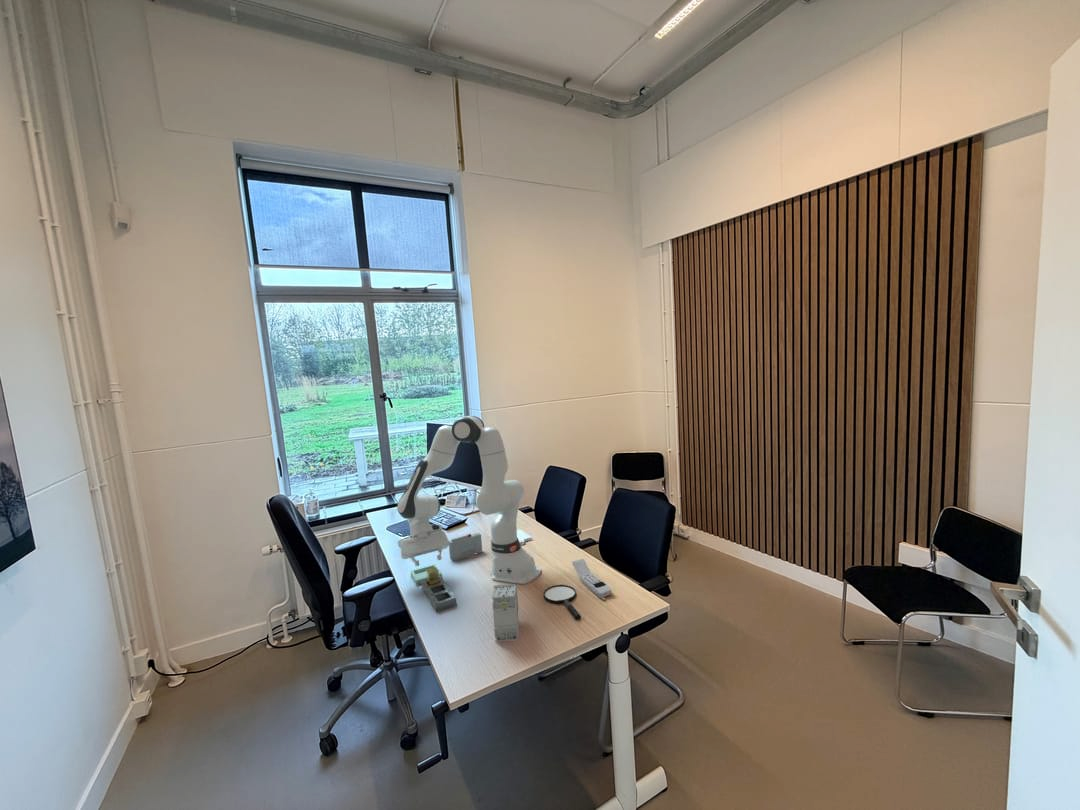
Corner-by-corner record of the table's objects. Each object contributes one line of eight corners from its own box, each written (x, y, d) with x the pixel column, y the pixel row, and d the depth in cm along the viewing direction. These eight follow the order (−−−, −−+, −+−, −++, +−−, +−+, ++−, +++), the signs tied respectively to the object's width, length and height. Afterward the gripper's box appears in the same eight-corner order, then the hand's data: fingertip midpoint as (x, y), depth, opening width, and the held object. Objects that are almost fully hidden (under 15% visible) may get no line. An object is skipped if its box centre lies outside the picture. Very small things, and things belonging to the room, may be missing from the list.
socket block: (456, 605, 164) (456, 597, 164) (435, 612, 160) (435, 604, 160) (440, 581, 183) (440, 575, 183) (422, 587, 180) (421, 580, 179)
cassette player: (480, 550, 214) (478, 530, 213) (482, 551, 211) (480, 532, 210) (450, 559, 205) (448, 539, 205) (452, 561, 203) (450, 540, 202)
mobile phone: (582, 558, 184) (615, 583, 161) (584, 571, 185) (616, 598, 162) (570, 561, 182) (601, 587, 159) (571, 575, 183) (602, 602, 160)
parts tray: (442, 577, 187) (441, 573, 187) (416, 585, 182) (416, 580, 182) (435, 568, 197) (435, 563, 197) (411, 574, 192) (410, 570, 192)
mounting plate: (497, 537, 229) (496, 533, 229) (518, 531, 235) (518, 528, 235) (510, 548, 213) (510, 545, 213) (534, 542, 219) (533, 538, 219)
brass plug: (440, 589, 177) (438, 570, 177) (430, 592, 175) (428, 573, 175) (437, 585, 181) (435, 567, 180) (428, 588, 179) (426, 569, 178)
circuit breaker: (518, 615, 155) (516, 575, 154) (518, 639, 141) (514, 596, 140) (498, 616, 155) (495, 576, 154) (495, 641, 141) (491, 598, 139)
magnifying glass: (561, 625, 148) (561, 619, 148) (539, 593, 170) (539, 588, 170) (594, 616, 152) (594, 610, 151) (568, 586, 174) (568, 581, 174)
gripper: (397, 535, 183) (404, 566, 175) (444, 524, 192) (453, 553, 185) (396, 542, 187) (403, 572, 179) (442, 530, 197) (450, 559, 189)
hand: (428, 562), depth 182 cm, fingers open, 8 cm apart
